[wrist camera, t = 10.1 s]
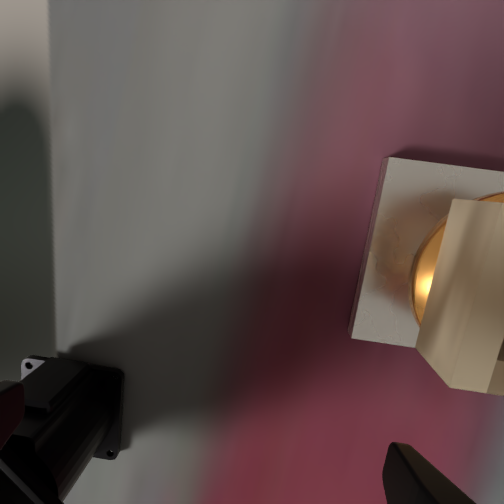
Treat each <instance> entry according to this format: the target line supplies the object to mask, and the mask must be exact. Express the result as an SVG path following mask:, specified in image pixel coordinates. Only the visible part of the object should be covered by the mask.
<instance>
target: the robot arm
mask: <svg viewBox="0 0 504 504" xmlns="http://www.w3.org/2000/svg"><path fill="white" fill-rule="evenodd" d="M30 363H32V365H33V366H32V365H31V364H30ZM113 375H114V376H116V377H117V378H118V379H115V378H114V377H113ZM123 393H124V373H123V371H121V370H120V369H117V368H111V367H105V366H98V365H92V364H89V363H85V362H79V361H73V360H66V359H60V358H54V357H51V358H47V357H41V356H35V355H30V356H28V357H27V358H25V359H24V360H23V361H22V363H21V381H19V382H18V381H12V380H3V381H0V504H64V503H63V501H64V499H65V498H66V496H67V495H68V493H69V492H70V490H71V489H72V487H73V486H74V484H75V483H76V481H77V480H78V478H79V477H80V475H81V474H82V472H83V470H84V469H85V467H86V466H87V464H88V463H89V461H90V460H91V458H92V457H95V458H101V459H107V460H113V459H115V458H116V457H117V456H118V454H119V452H120V443H121V426H122V409H123ZM110 450H111V451H113V452H111V451H110ZM382 478H383V485H384V490H385V495H386V500H387V504H476V503H475V502H474V501H473V500H471V499H470V498H469V497H468V496H467V495H466V494H465V493H463V492H462V491H461V490H460V489H459V488H458V487H457V486H456V485H454V484H453V483H452V482H451V481H450V480H449V479H448V478H447V477H445V476H444V475H443V474H442V473H441V472H440V471H439V470H438V469H436V468H435V467H434V466H433V465H432V464H431V463H430V462H429V461H427V460H426V459H425V458H424V457H423V456H422V455H421V454H419V453H418V452H417V451H416V450H415V449H414V448H413V447H411V446H410V445H408V444H404V443H398V442H392V443H391V444H390V445H389V448H388V451H387V455H386V459H385V463H384V467H383V473H382Z"/></svg>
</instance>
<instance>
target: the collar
mask: <svg viewBox="0 0 504 504" xmlns="http://www.w3.org/2000/svg"><path fill="white" fill-rule="evenodd" d="M415 348H416V349H417V350H418V352H419V353H420V354H421V355H422V356H423V357H424V359H425V360H426V361H427V362H428V363H429V364H430V366H431V367H432V368H433V369H434V370H435V371H436V373H437V374H438V375H439V376H440V377H441V378H442V380H443V381H444V382H445V383H446V384H447V385H448V386H449V388H456V389H462V390H469V391H475V392H482V393H488V394H495V395H501V396H504V203H499V202H487V201H476V200H464V199H453V200H452V204H451V208H450V211H449V215H448V219H447V223H446V227H445V231H444V235H443V239H442V243H441V247H440V251H439V255H438V259H437V263H436V266H435V270H434V274H433V278H432V282H431V286H430V290H429V294H428V298H427V302H426V306H425V310H424V314H423V318H422V322H421V325H420V329H419V333H418V337H417V341H416V345H415Z"/></svg>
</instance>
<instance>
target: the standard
mask: <svg viewBox="0 0 504 504" xmlns="http://www.w3.org/2000/svg"><path fill="white" fill-rule="evenodd" d="M453 199H464V200H476V201H487V202H499V203H504V172H500V171H493V170H485V169H478V168H470V167H462V166H455V165H447V164H440V163H432V162H424V161H417V160H409V159H401V158H394V157H387V158H383V161H382V166H381V171H380V176H379V180H378V185H377V190H376V195H375V200H374V205H373V210H372V214H371V219H370V224H369V229H368V234H367V239H366V243H365V248H364V253H363V258H362V263H361V268H360V272H359V277H358V282H357V287H356V292H355V297H354V302H353V306H352V311H351V316H350V321H349V326H348V333H349V335H350V337H351V338H353V339H360V340H367V341H373V342H380V343H386V344H393V345H400V346H406V347H413V348H415V345H416V341H417V337H418V333H419V329H420V325H421V322H422V318H423V314H424V310H425V306H426V302H427V298H428V294H429V290H430V286H431V282H432V278H433V274H434V270H435V266H436V263H437V259H438V255H439V251H440V247H441V243H442V239H443V235H444V231H445V227H446V223H447V219H448V215H449V211H450V208H451V204H452V200H453Z"/></svg>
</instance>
